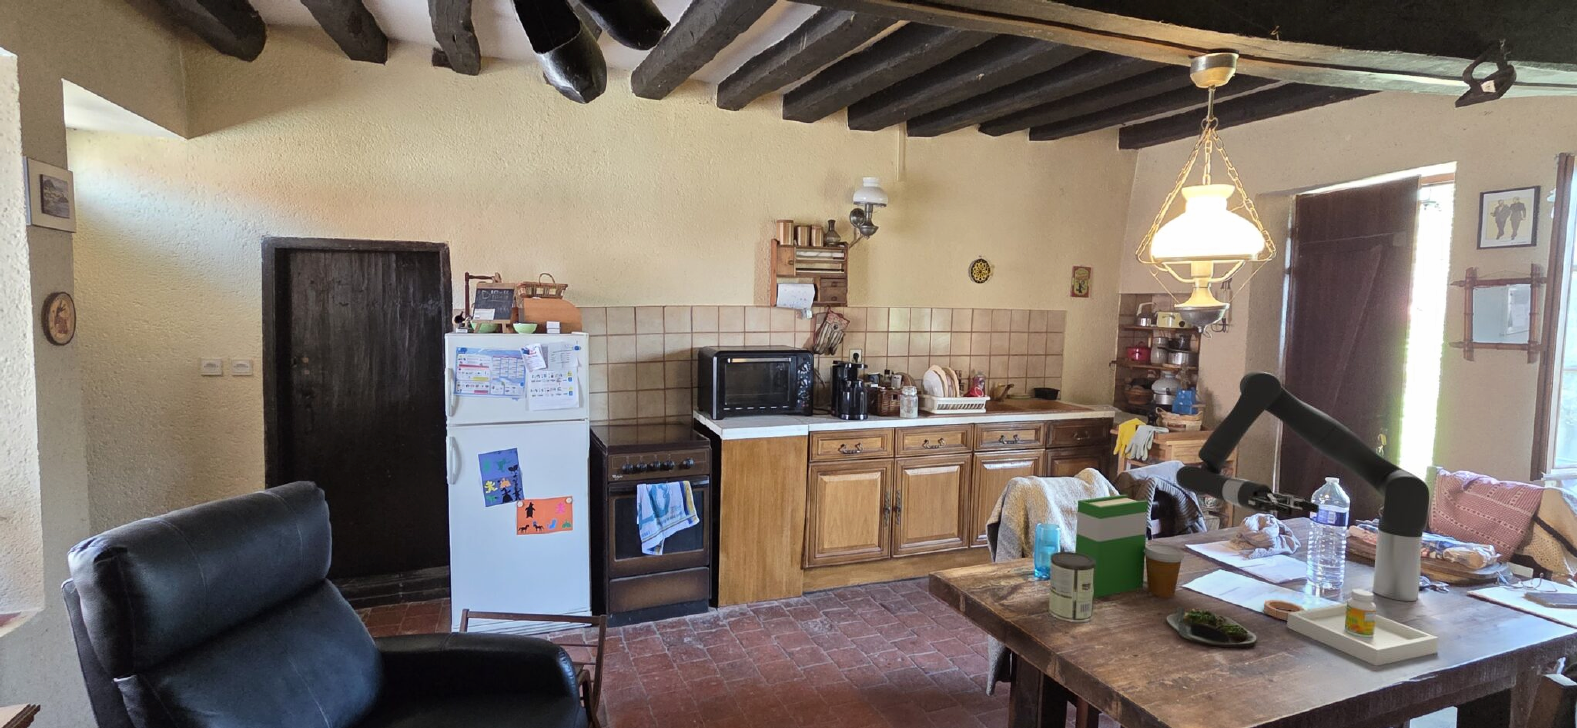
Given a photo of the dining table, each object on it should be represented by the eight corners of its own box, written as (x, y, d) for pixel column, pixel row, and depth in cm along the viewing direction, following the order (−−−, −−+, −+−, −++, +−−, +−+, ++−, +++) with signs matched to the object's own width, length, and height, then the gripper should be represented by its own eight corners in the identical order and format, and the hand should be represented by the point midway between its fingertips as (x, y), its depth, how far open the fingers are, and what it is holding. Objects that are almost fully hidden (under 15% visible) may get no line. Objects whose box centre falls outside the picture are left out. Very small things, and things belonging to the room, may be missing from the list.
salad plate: (1146, 613, 187) (1147, 595, 186) (1218, 614, 187) (1219, 596, 187) (1188, 649, 168) (1189, 629, 167) (1268, 650, 168) (1269, 631, 167)
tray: (1344, 616, 186) (1346, 603, 186) (1437, 652, 167) (1438, 637, 167) (1286, 627, 180) (1287, 612, 179) (1376, 665, 161) (1377, 649, 160)
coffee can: (1058, 602, 192) (1061, 548, 191) (1099, 614, 185) (1102, 558, 184) (1040, 613, 185) (1043, 558, 184) (1082, 626, 178) (1085, 568, 177)
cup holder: (1280, 605, 193) (1280, 598, 193) (1312, 618, 185) (1313, 611, 185) (1256, 609, 190) (1256, 602, 190) (1288, 622, 182) (1288, 615, 182)
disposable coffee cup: (1186, 601, 194) (1188, 556, 193) (1146, 597, 196) (1149, 553, 195) (1175, 587, 204) (1177, 544, 203) (1137, 584, 206) (1139, 541, 205)
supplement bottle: (1338, 628, 176) (1341, 587, 175) (1359, 627, 176) (1363, 587, 176) (1358, 638, 170) (1361, 596, 170) (1379, 637, 171) (1383, 596, 170)
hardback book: (1120, 578, 210) (1125, 494, 208) (1143, 587, 203) (1148, 500, 201) (1073, 587, 202) (1078, 500, 200) (1095, 597, 196) (1100, 507, 194)
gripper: (1227, 482, 200) (1286, 497, 184) (1266, 478, 204) (1326, 493, 189) (1226, 509, 200) (1284, 527, 185) (1264, 505, 205) (1324, 522, 190)
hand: (1305, 510), depth 187 cm, fingers open, 8 cm apart
